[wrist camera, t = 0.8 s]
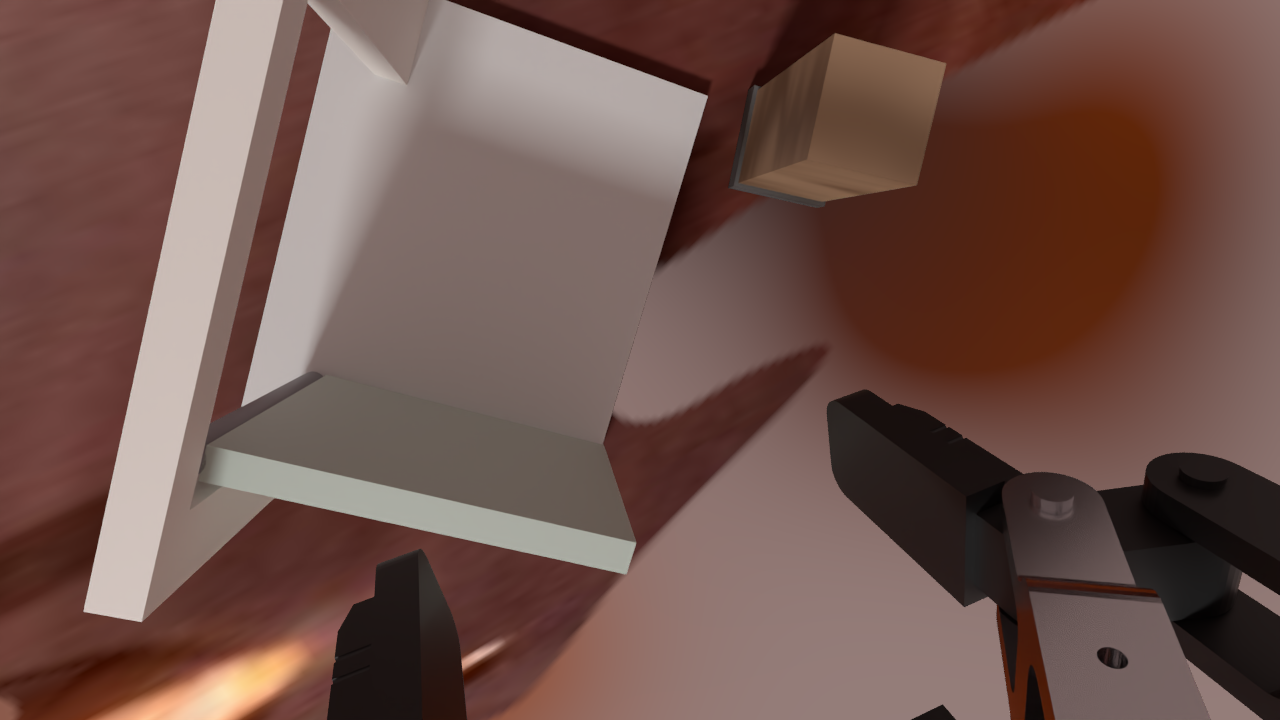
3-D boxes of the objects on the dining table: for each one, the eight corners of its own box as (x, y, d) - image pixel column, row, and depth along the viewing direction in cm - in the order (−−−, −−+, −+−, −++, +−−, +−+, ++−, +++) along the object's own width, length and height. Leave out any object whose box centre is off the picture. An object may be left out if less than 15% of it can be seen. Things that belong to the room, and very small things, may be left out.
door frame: (351, -29, 31) (170, -298, 16) (703, 99, 34) (835, -21, 19) (239, 439, 33) (-8, 595, 18) (578, 517, 37) (605, 704, 22)
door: (603, 444, 35) (636, 542, 23) (590, 487, 35) (616, 605, 24) (303, 368, 32) (168, 436, 21) (291, 415, 32) (152, 509, 21)
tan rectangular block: (748, 89, 34) (831, 26, 25) (838, 112, 35) (952, 59, 26) (728, 187, 35) (801, 163, 25) (816, 207, 36) (919, 191, 26)
